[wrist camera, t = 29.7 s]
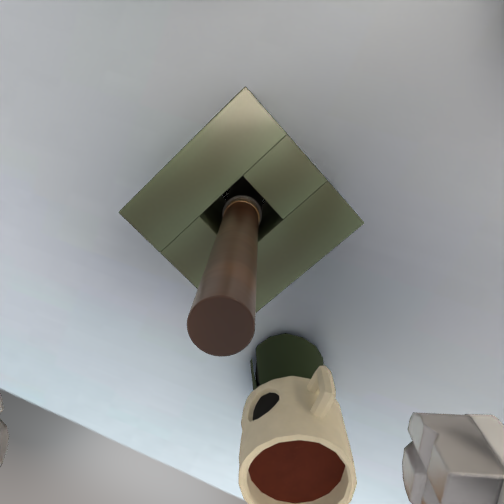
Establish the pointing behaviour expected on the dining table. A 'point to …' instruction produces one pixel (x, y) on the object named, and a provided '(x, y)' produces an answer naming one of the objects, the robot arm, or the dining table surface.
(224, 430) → the dining table surface
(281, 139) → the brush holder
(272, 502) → the character mug
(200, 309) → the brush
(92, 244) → the dining table surface
